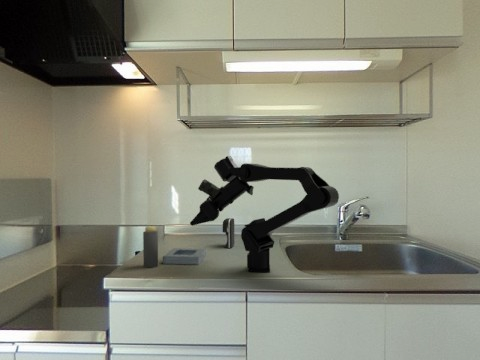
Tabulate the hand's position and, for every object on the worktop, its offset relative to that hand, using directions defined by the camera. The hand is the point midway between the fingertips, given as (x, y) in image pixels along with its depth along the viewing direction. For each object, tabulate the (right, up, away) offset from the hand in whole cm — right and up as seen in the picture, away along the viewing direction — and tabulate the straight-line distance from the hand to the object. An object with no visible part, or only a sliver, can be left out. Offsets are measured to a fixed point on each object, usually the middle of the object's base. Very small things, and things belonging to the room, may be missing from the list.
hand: (193, 221), depth 112 cm
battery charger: (+10, -14, +26) cm, 32 cm away
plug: (-14, -14, -2) cm, 20 cm away
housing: (-4, -14, +6) cm, 16 cm away
